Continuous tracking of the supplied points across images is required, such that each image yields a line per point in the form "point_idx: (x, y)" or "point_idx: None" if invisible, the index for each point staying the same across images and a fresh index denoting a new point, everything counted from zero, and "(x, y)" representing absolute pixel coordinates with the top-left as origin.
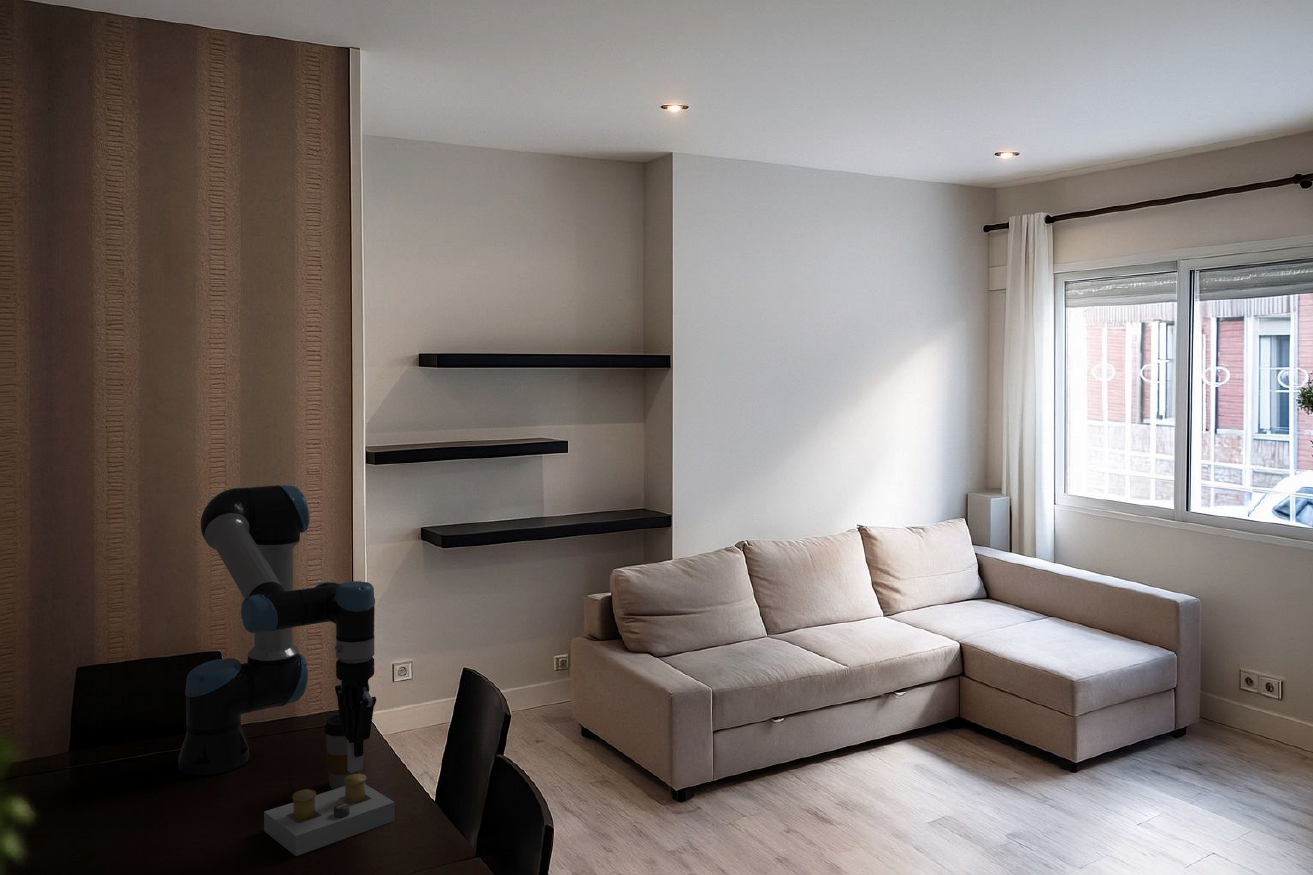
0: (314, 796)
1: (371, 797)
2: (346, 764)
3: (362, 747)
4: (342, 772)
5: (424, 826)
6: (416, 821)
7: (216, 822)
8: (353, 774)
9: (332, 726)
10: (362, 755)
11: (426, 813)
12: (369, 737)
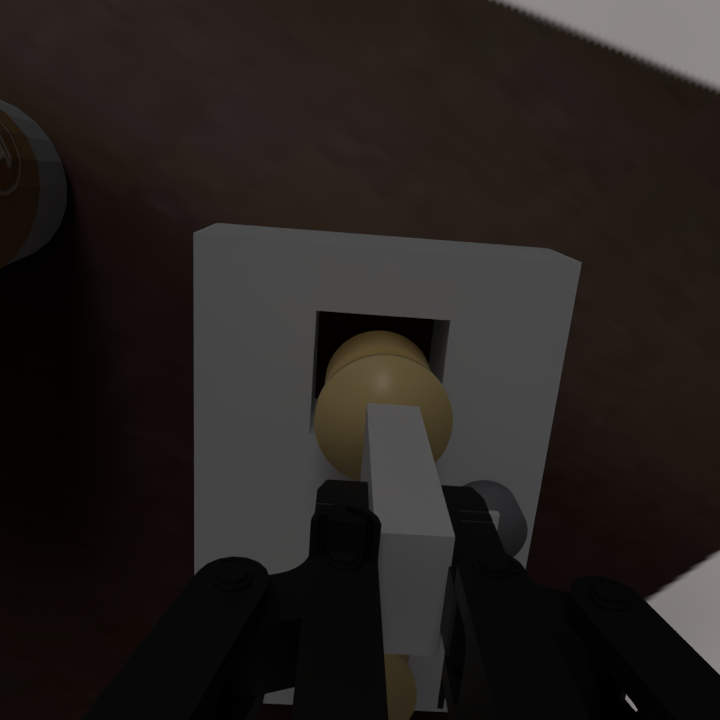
0: (408, 667)
1: (434, 315)
2: (2, 234)
3: (494, 535)
4: (16, 247)
5: (710, 183)
6: (639, 177)
7: (21, 707)
8: (322, 399)
9: None
10: (471, 488)
11: (615, 83)
12: (632, 592)
